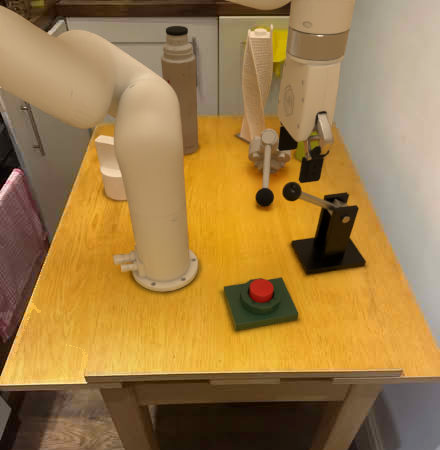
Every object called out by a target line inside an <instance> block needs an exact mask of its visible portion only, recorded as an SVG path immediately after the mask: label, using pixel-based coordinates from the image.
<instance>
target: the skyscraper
mask: <svg viewBox="0 0 440 450" xmlns="http://www.w3.org/2000/svg"><path fill="white" fill-rule="evenodd" d="M269 27H270V28H269V31H267V29H266V28H255V29H254V31H253V30H251V29H250V28H249V29H248V30H247V35H246V36H247V37H246V42H245V47H244V54H243V61H242V62H243V63H242V73H241V88H242V89H241V90H242V91H241V92H242V101H243V107H244V108H243V109H244V113H243V118H242V123H241V127H240V132H239V133H236V134H235V137H237V138H238V139H240V140H242V141H244V142H246V143H247V144H248V145H249V144H250V143H251V142H252V141H253V138H254V137H256V136H258V137H261V132H262V131H263V130H265V129H266V122H265V115H264V114H265V111H264V109H265V106H266V103H267V100H268V97H269V94H270V91H271V85H272V80H273V71H274V50H273V49H274V47H273V32H274V24H273V23H271V24H270V26H269Z"/></svg>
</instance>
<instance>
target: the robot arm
mask: <svg viewBox="0 0 440 450" xmlns="http://www.w3.org/2000/svg"><path fill="white" fill-rule="evenodd" d="M225 1H227V2H230V3H233V4H237V5H241V6H244V7H248V8H252V9H256V10H261V11H270V10H271V11H272V10H277V9H280V8H282V7H283V6H286V5H288V4H289V3H290V10H289V18H288V19H289V20H288V28H287V37H286V46H285V57H284V58H285V59H284V63H283V68H282V73H281V80H280V84H279V85H280V86H279V93H278V100H277V107H276V115H277V118H278V119H279V123H280V126H279V134H278V139H279V143H278V149H279V151H287V150H291V151H293V150H295V151H296V149H297V145H298V142H301V141H304V150H305V157H302V161H300V168H299V175H298V183H300V184H307V183H313V182H318V181H320V179H321V175H322V171H323V165H324V161H325V159H327V156H328V155H329V154H330V150H331V148H332V146H333V144H334V143H335V139H334V135H333V131H332V125H333V121H334V116H335V111H336V106H337V100H338V99H337V98H338V91H339V83H340V76H341V75H340V73H341V62H342V61H343V60H344V59H345V55H346V49H347V45H348V41H349V40H348V39H349V35H350V30H351V25H352V21H353V15H354V11H355V5H356V0H225ZM0 89H2V90H5V91H6V92H8V93H9V94H11V95H13V96H15V97H17V98H18V99H20V100H21V101H24V102H25V103H27V104H29V105H31V106H33V107H34V108H37V109H39V110H40V111H42V112H44V113H45V114H48V115H49V116H51V117H53V118H54V119H57V120H58V121H61V122H62V123H64V124H65V125H68V126H70V127H73V128H76V129H79V130H81V129H82V130H83V129H84V130H86V129H92V128H95V127H97V126H98V125H99V124H101V123H102V122H103V121H104V119H105V118H106V116H107V115H108V116H110V117H112V118H114V119H115V122H114V128H113V137H114V148H115V154H116V159H117V162H118V165H119V169H120V172H121V175H122V179H123V183H124V188H125V193H126V198H127V200H126V203H127V206H128V212H129V217H130V223H131V227H132V228H131V229H132V234H133V238H134V250H130V251H129V253H128V252H127V253H118V254H113V255H112V259H113V264H114V266H119V265H120V271H121V273H126V272H129V271H131V272H132V276H133V278H134V280H135V282H137V284H138V285H140V286H141V287H143V288H145V289H147V290H150V291H154V292H172V291H176V290H179V289H181V288H184V287H186V286H187V285H189V284H191V282H192V281H193V280H194V279H195V278H196V276H197V274H198V272H199V260H198V258H197V255H196V254H195V253H194V251H192V249H190V242H189V228H188V213H187V212H188V210H187V198H186V182H185V181H186V179H185V163H184V161H185V160H184V159H185V158H184V157H185V156H184V155H183V137H182V123H181V114H180V105H179V101H178V98H177V95H176V93H175V91H174V90H173V88H172V87H171V86H170V85H169V84H168V83H167V82H166V81H165V80H164V79H163V77H162V76H160V75H159V74H157V73H156V72H154V71H153V70H152V69H150V68H148V67H147V66H146V65H145V64H143V63H141V62H140V61H138V60H137V59H135V58H134V57H133V56H131V55H130V54H128V53H127V52H125V51H124V50H122V49H121V48H119V47H118V46H117V45H115V44H114V43H112V42H110V40H107V39H105V38H104V37H102V36H101V35H98V34H97V33H94V32H92V31H88V30H84V29H70V30H67V31H64V32H62V33H61V34H59V35H58V36H56V37H55V36H54V35H51V34H50V33H48V32H46V31H45V30H43V29H42V28H40V27H38V26H37V25H35V24H33V23H32V22H31V21H29V20H28V19H26V18H25V17H24V16H22V15H20V14H19V13H17V12H15V11H13V10H11V9H9V8H7V7H5V6H3V5H0ZM311 132H317V134H318V135H312V136H309V135H310V134H311ZM312 141H318V144H319V146H316V147H315V148H314V149H312V150H311V142H312Z"/></svg>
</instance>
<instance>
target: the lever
mask: <svg viewBox="0 0 440 450" xmlns="http://www.w3.org/2000/svg"><path fill="white" fill-rule="evenodd" d="M281 192H282V193H281V194H282V196H283V198H284V199H285V200H286V201H288V202H296V201H298V200H301V201H304V202H306V203H309V204H312V205H314V206H317V207H320V208H325V209H327V210H328V211H329V213H330V214H331V215H332V212H333V208H338V207H346V206H349V205H348V203H347V204H346V203H344V202H341V201H339V200H337V199H335V200H334V201H333V203H330V202H328V201H325V200H323V199H324V198H320V197H318V196H315V195H313V194H310V193H307V192H305V191H303V190H302V186H301V185H300V184H299V182H297V181H289V182H287V183H285V184H284V185H283V188H282V191H281Z"/></svg>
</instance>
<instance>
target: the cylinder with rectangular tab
mask: <svg viewBox="0 0 440 450" xmlns="http://www.w3.org/2000/svg"><path fill="white" fill-rule="evenodd" d="M94 147H95V149H96V150H95V151H96V155H97V158H98V163H99V171H100V175H101V180H102V184H103V189H104V192H105V195H106V196H107V197H108V198H110V199H112V200H115V201H127V198H126V193H125V188H124V183H123V179H122V175H121V172H120V169H119V165H118V162H117V159H116V154H115V148H114V136H109V135H103V134H100V135H99V136H98V137H96V138H95V140H94Z"/></svg>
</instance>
